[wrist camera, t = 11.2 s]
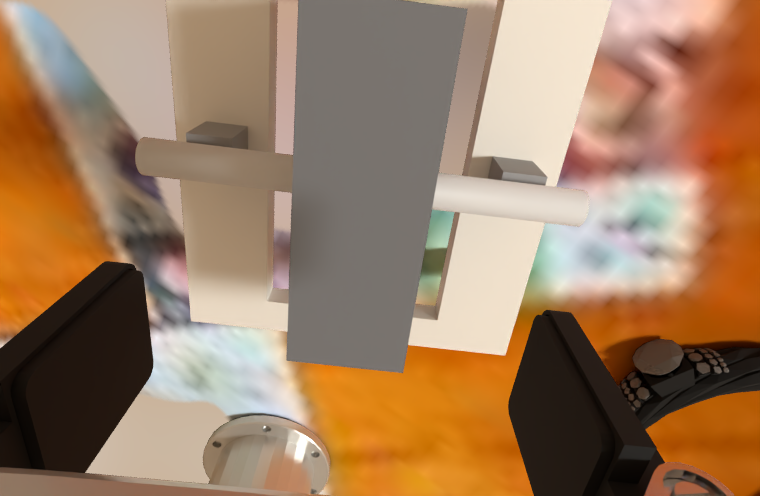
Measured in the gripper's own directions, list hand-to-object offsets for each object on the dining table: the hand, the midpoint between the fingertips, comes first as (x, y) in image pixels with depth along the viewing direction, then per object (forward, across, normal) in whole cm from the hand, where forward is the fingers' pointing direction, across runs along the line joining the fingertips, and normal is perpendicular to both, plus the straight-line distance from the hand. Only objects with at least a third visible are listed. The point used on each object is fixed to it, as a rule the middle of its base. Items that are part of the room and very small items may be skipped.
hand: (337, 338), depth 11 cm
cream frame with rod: (+24, 0, -1) cm, 24 cm away
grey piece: (+18, 0, -1) cm, 19 cm away
